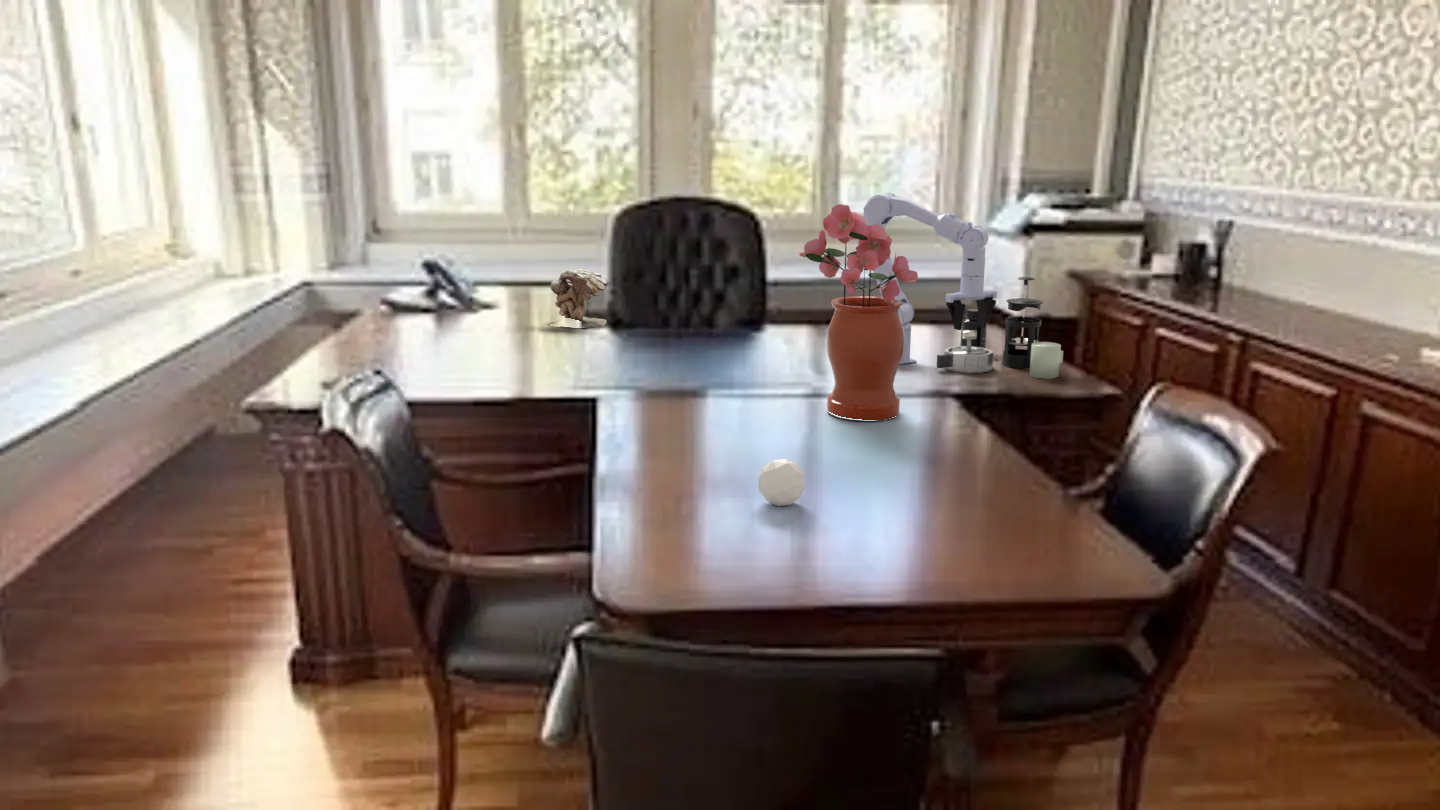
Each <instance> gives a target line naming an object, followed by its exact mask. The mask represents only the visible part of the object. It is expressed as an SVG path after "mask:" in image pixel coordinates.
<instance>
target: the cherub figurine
mask: <svg viewBox="0 0 1440 810" xmlns="http://www.w3.org/2000/svg"><path fill="white" fill-rule="evenodd" d="M559 276H560V277H557V278H556V277H555V278H554V279H552V280H551V283H550V290H551V292H553V294H554V295H556V300H555V302H554V305H555V306H556V307H557V308H559V311H558V314H559V316H560V315H561V316H565V318H571V319H575V320H579V321H582V326H583V327H585V328H589V329H593V328H600V327H601V328H602V327H604V326H605V325H606V324H607V319H603V318H597V317H586V316H585V313H586V306H585V301H589V300H591V298H592V296H593V297H598V296H600V295H599V294H600V292H599V291H604V290H606V286H607V284H608V282H607V281H606V280H605V279H604V278H602V274H600V273H595V272H592V271H590V270H589V269H586V268H585V269H584V268H583V269H582V268H580V269H575V270H572V269H565V270H563V271H561V273H560V275H559ZM568 281H570V283H569V282H568ZM561 316H560V317H561Z"/></svg>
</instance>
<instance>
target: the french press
mask: <svg viewBox="0 0 1440 810" xmlns="http://www.w3.org/2000/svg"><path fill="white" fill-rule="evenodd" d="M1017 280H1019V281H1023V286H1024V295H1023V297H1020V298H1019V297H1017V298H1009V299H1007V300H1006V303H1008V304H1007V310H1008V311H1013V312H1021V311H1022V316H1008V317H1006V318H1005V320H1004V321H1005V323H1004V324H1005V332H1004V335H1005V338H1004V349H1003V351H1002V352H1003V353H1002V361H1001V365H1002V366H1004V367H1006V366H1007V368H1011V367H1012V369H1018V370H1019V369H1021V370H1024V369H1027V370H1028V369H1029V370H1030V359H1031V345H1032V343H1034V342H1040V341H1039V340H1040V327H1041V326H1042V319H1039V318H1037V317H1030V316H1025V312H1026V311H1025V310H1026V309H1027V308H1034V309H1038V310H1039V311H1041V307H1042V306H1041V305H1042V304H1043V303H1044V302H1043V300H1040V299H1035V298H1034V299H1033V298H1028V297H1027V296H1026V294H1027V286H1028V285H1029V281H1034V280H1035V278H1034V277H1030V276H1021V277H1017ZM1018 328H1021V336H1020V337H1017V335H1018V334H1017V332H1018V331H1017V330H1018ZM1024 329H1028V333H1027V337H1024ZM1018 346H1019V347H1027V348H1016V347H1018Z"/></svg>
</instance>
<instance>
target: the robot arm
mask: <svg viewBox="0 0 1440 810" xmlns="http://www.w3.org/2000/svg"><path fill="white" fill-rule="evenodd" d="M862 216H863V217H864V218H865V220H866V221H867V224H866V225H870V226H871V225H875V224H877V225H880V226H882V227H883V228H884V229H885V228H886V227H887V225H888V223H889V221H891V220H892V219H893V218H894V217H902V216H905V217H907V218H910V219H913V220H916V221H918V222H920V223H921V224H922V223H923V224H926V225H927V226H930V227H932V228H933V229H934V232H935V234H936V236H937V235H938V236H940V237H941V238H944V239H946V240H949V241H950V242H952V243H954V244H957V245H960V246H961V248H962V256H961V267H960V268H961V269H960V288H959V289H960V290H959V291H957V292H953V293H946V294H945V302H946V303H945V305H946V307H947V309H948V312H949V313H950V316H951V320H952V324H953V329H954V330H957V331H961V328H962V321H963V317H964V312H965V309H966V306H967V304H965V303H963V302H965V301H976V306H977V309H978V326H979V327H983V328H985V326H986V323H987V322H988V320H989V317H990V315H991V312H992V310H993V309H994V307H995V306H996V305H997V300H996V299H997V298H998V296H997V295H998V291H997V290H993V289H991V290H990V289H988V290H984V289H985V288H984V285H985V283H984V282H985V271H986V270H985V269H986V268H985V267H986V245H987V244H988V242H989V234H988V232H987V230H986V229H985V228H984V227H982V226H980V225H974V223H973V222H971V221H968V222H966V221H964V220H963V219H960V218H957V217H956V214H955V213H952V212H951V213H943V214H940V215H939V214H937V213H935V212H933V211H932V210H929V209H927V208H926V207H923V206H922V205H920V204H918V203H915V202H914V201H912V200H910V199H908V198H905V197H903V196H900V195H896V194H895V193H891V192H886V193H883V194H875V195H873V196H871V197H870V198H869V199H868V201H866V203H865V205H864V207H863V215H862ZM973 225H974V226H973ZM883 239H884V238H883ZM891 259H892V258H891V257H890V258H889V259H886V261H885V262H884V264H883V265H881V266H879V267H878V268H876V269H875V270H874V271H873V273H880V274H884V275H886V276H887V277H890V275H891V276H892V275H895V274H894V272H892V266H893V262H892V260H891ZM891 273H892V274H891ZM875 280H876V283H877V284H876V285H877V286H878V285H879V284H880V283H881V282H882V281H883V280H882V281H880V280H877V279H875ZM887 280H888V279H885V280H884V281H883V282H882V283H884V282H885V281H887ZM891 280H897V284H898V286H899V288H900V293H899V295H898V296H895V299H897V300H900V301H901V302H902V306H901V307H900V309H898V314H899V317H900V320H901V323H902V326H903V329H904V349H903V354H902V358H901V361H900V364H899V365H902V364H910V363H916V362H917V360H916V359H914V358H911V340H912V339H911V338H912V326H911V323H910V322H911V321H912V320H913V318H914V316H915V310H914V309H915V308H914V306H913V304H911V303H910V302H909V300H908V298H907V296H906V294H905V293H904V292H903V290H901V289H902V288H901V287H900V284H899V281H898V279H897V278H896V277H895V278H893V279H891ZM882 283H881V284H882ZM886 283H887V282H886ZM886 283H884V284H883V285H881V286H879V287H881V288H882V287H883V286H884V285H885V284H886ZM881 288H878V289H879V292H880V297H883V296H882V293H881ZM987 324H988V323H987Z"/></svg>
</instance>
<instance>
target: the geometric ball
mask: <svg viewBox="0 0 1440 810" xmlns="http://www.w3.org/2000/svg"><path fill="white" fill-rule="evenodd" d="M757 482H758V492H759V493H760V494H761V495H762V496H763V499H765V501H767V502H768V503H770V504H773V505H774V506H776V505H777V507H783V506H791V505H792V504H793V503H795V502H797V501H798V500H799V499H801V498H802V495H803V493H804V490H805V489H806V488H805V487H806V478H805V473H804V471H803V470H802V469H801V467H800V466H799V464H797V463H796V462H793V461H791V460H789V459H787V458H781V459H773V460H772V461H770V462H769V463H767V464H766V465H764V466H763V467H762V469H761V470H760V474H759V475H758V480H757Z"/></svg>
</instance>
